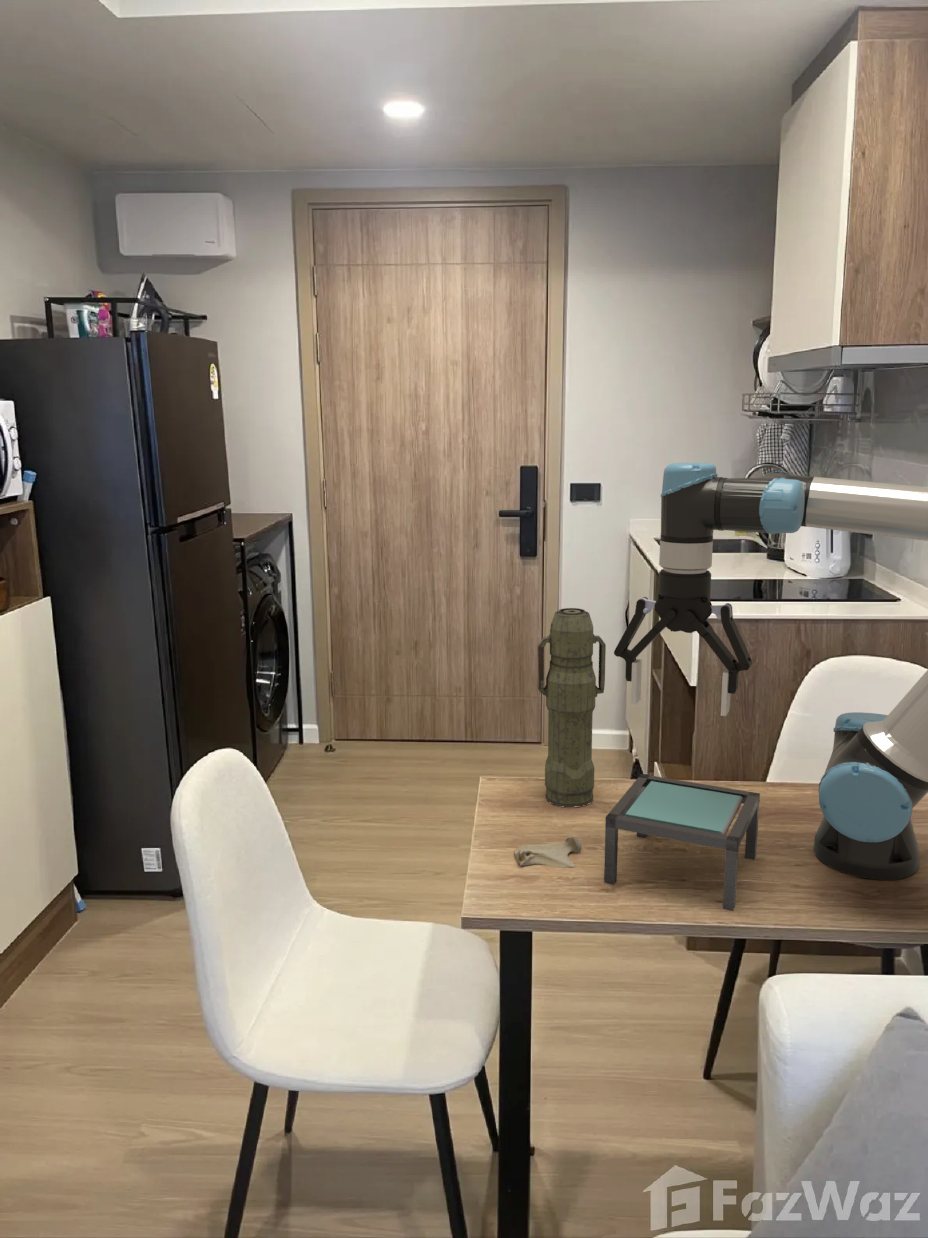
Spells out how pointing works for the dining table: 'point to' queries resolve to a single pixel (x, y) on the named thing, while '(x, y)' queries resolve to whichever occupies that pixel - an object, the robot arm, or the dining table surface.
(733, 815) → the trapdoor
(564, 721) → the thermos
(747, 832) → the frame
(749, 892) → the dining table surface
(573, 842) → the fossil
